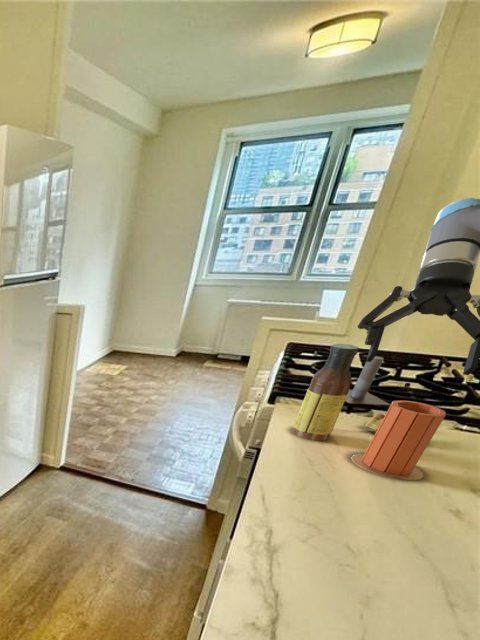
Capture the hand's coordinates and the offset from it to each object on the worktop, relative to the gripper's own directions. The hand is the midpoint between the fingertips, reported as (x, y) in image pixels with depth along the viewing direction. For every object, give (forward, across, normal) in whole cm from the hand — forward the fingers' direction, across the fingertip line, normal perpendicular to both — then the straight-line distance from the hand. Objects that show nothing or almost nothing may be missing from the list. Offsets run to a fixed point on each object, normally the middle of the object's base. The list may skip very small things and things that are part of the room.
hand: (418, 364), depth 93 cm
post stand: (-5, +2, -29) cm, 30 cm away
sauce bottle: (+15, +11, -9) cm, 21 cm away
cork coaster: (+21, 0, -3) cm, 21 cm away
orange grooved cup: (+21, 0, -2) cm, 21 cm away
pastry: (+8, -2, -16) cm, 18 cm away
